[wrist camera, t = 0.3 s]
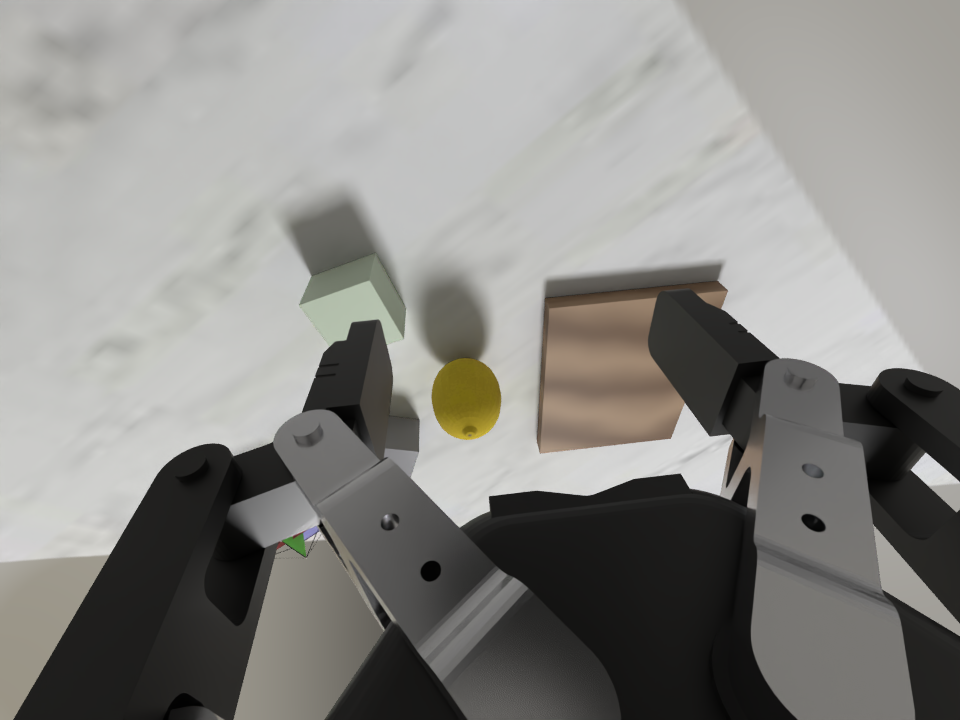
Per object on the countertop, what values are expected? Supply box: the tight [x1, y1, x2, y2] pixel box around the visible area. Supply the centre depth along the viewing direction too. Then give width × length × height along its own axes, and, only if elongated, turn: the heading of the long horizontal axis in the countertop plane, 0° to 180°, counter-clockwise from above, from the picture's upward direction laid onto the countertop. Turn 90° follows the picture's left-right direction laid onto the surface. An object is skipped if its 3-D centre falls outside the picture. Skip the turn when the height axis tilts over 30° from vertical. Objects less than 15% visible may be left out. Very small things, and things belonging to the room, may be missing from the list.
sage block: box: [299, 253, 406, 346], centre depth 29 cm, size 5×5×4 cm
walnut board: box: [537, 281, 728, 453], centre depth 38 cm, size 18×14×2 cm
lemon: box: [432, 358, 501, 440], centre depth 33 cm, size 6×6×8 cm
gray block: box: [384, 416, 419, 478], centre depth 40 cm, size 5×5×4 cm
